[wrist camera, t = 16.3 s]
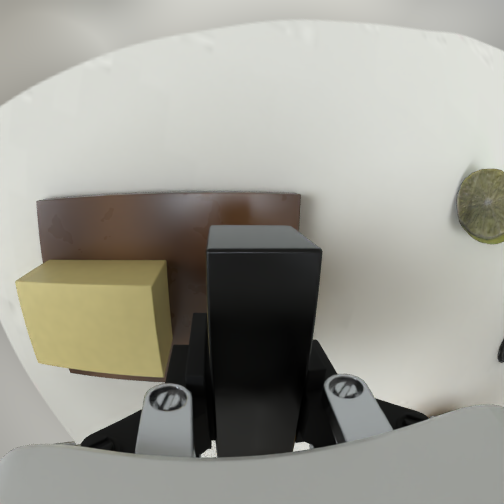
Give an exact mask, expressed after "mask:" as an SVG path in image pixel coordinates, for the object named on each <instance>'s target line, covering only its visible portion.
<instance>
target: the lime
mask: <svg viewBox="0 0 504 504" xmlns="http://www.w3.org/2000/svg"><path fill="white" fill-rule="evenodd" d="M457 211H458V216H459V222H460V224H461V226H462V227H463V228H464V229H465V230H466V231H467V232H468V234H469V235H470V236H471V237H472V238H474V239H475V240H477V241H479V242H482V243H487V244H498V243H501V242H504V172H503V171H502V170H498V169H481V170H479V171H476V172H474V173H472V174H471V175H469V176H468V177H467V178H465V180H464V181H463V182H462V184H461V187H460V190H459V192H458V195H457Z"/></svg>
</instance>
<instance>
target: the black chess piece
mask: <svg viewBox="0 0 504 504" xmlns="http://www.w3.org/2000/svg"><path fill="white" fill-rule="evenodd" d="M498 361H499V362H504V340H503V342H502V344H501V346H500V349H499V353H498Z"/></svg>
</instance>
